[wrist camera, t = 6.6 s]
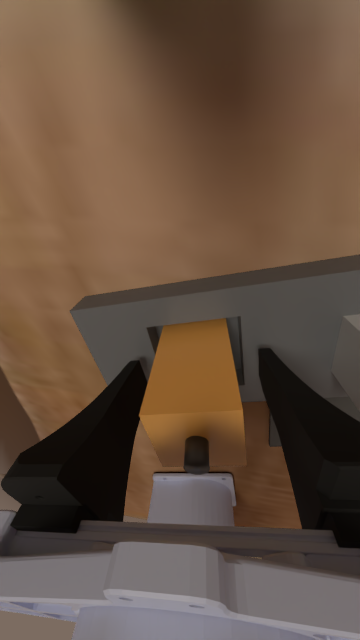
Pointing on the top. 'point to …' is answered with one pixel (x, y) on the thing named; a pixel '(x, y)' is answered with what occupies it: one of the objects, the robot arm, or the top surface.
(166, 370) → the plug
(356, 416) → the mat
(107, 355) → the grey panel with knob
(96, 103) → the top surface
